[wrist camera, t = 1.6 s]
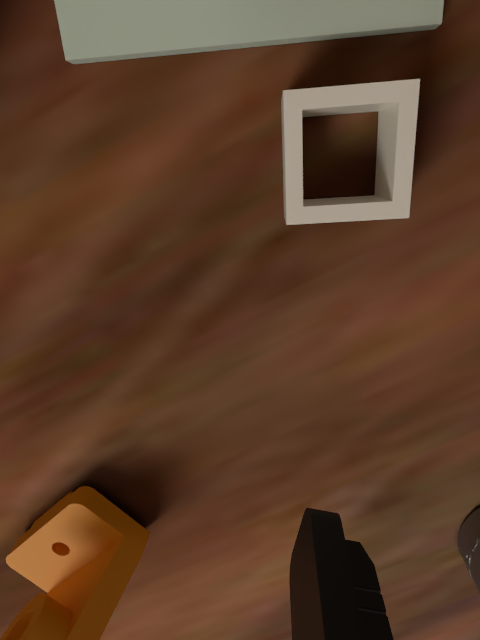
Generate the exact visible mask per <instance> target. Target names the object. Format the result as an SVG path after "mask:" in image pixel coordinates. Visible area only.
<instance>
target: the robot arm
mask: <svg viewBox="0 0 480 640" xmlns="http://www.w3.org/2000/svg"><path fill="white" fill-rule="evenodd" d="M458 548H459V551H460V554H461V556H462V558H463V560H464V562H465V564H466V567H467V569H468V572H469V574H470V576H471V578H472V579H473V581H474V583H475V585H476V587H477V589H478V591H479V593H480V508H478V509H477V510H475V511H474V512H473V513H472V514H471V515H470V516H469V517H468V518H467V519H466V520H465V522H464V523H463V525H462V527H461V528H460V532H459V535H458ZM380 590H381V589H380V586H379V582H378V578H377V574H376V570H375V566H374V564H373V562H372V561H371V559H370V558H369V556H368V554H367V553H366V551H365V550H364V548H363V547H362V545H361V543H360V542H355V541H350V540H345V537H344V532H343V527H342V522H341V518H340V516H339V514H338V513H333V512H328V511H322V510H316V509H311V508H306V510H305V512H304V515H303V518H302V522H301V525H300V528H299V532H298V535H297V539H296V542H295V545H294V549H293V552H292V557H291V564H290V602H291V623H292V640H393V636H392V632H391V628H390V624H389V621H388V617H387V616H386V609H385V605H384V601H383V597H382V595H381V594H380Z"/></svg>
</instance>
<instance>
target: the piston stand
mask: <svg viewBox="0 0 480 640" xmlns="http://www.w3.org/2000/svg"><path fill="white" fill-rule="evenodd" d="M54 1H55V7H56V12H57V17H58V22H59V28H60V33H61V38H62V44H63V49H64V54H65V60H66V61H68V62H70V63H72V64H82V63H93V62H103V61H113V60H124V59H134V58H145V57H155V56H165V55H176V54H186V53H196V52H207V51H217V50H227V49H238V48H248V47H258V46H269V45H279V44H290V43H300V42H310V41H321V40H331V39H341V38H352V37H362V36H372V35H383V34H393V33H403V32H414V31H424V30H435V29H436V28H437V27H438V26H440V25H441V24H442V17H443V6H444V0H54Z"/></svg>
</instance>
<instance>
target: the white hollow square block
mask: <svg viewBox="0 0 480 640" xmlns="http://www.w3.org/2000/svg"><path fill="white" fill-rule="evenodd" d="M419 88H420V79H410V80H399V81H387V82H375V83H364V84H352V85H341V86H329V87H318V88H306V89H294V90H283V94H282V100H281V113H282V150H283V187H284V217H285V221H286V225H294V224H311V223H329V222H346V221H364V220H381V219H399V218H409V213H410V200H411V188H412V175H413V163H414V150H415V138H416V125H417V113H418V100H419ZM375 111H379V113H378V134H377V154H376V174H375V194H374V195H370V196H354V197H338V198H322V199H306V200H303V143H302V117H313V116H326V115H338V114H351V113H363V112H375Z"/></svg>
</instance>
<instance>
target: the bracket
mask: <svg viewBox="0 0 480 640" xmlns="http://www.w3.org/2000/svg"><path fill="white" fill-rule="evenodd" d="M149 534H150V532H149V531H147V530H146V529H145V528H144V527H142V526H141V525H140V524H138V523H137V522H136V521H135V520H133V519H132V518H131V517H130V516H128V515H127V514H126V513H124V512H123V511H122V510H121V509H119V508H118V507H117V506H115V505H114V504H113V503H112V502H110V501H109V500H108V499H106V498H105V497H104V496H103V495H101V494H100V493H99V492H97V491H96V490H95V489H93V488H91V487H88V486H82V487H79V488H78V489H77V490H76V491H74V492H72V491H70V492H69V493H68V494H67V495H66V496H64V497H63V498H62V499H61V500H60V501H59V502H57V503H56V504H55V505H54V506H53V507H51V508H50V509H49V510H48V511H47V512H46V513H44V514H43V515H42V516H41V517H40V518H38V519H37V520H36V521H35V522H34V523H33V525H32V527H31V528H30V529H29V530H28V531H27V532H26V533H24V534H23V535H22V536H21V537H20V538H19V539H18V541H17V542H16V544H15V545H14V547H13V548H12V550H11V551H10V553H9V554H8V556H7V557H6V562H7V564H8V565H9V566H10V567H11V568H12V569H14V570H15V571H17V572H18V573H20V574H21V575H22V576H24V577H25V578H27V579H28V580H30V581H31V582H33V583H34V584H36V585H37V586H39V587H40V588H41V589H43V590H44V591H46V592H47V593H48V594H45V593H40V594H38V595H37V596H35V597H34V598H33V599H32V600H31V601H30V602H29V603H28V604H27V605H26V606H25V607H24V608H23V609H22V610H21V612H20V613H19V614H18V615H17V617H16V618H15V619H14V620H13V622H12V623H11V624H10V626H9V627H8V629H7V630H6V632H5V633H4V635H3V636H2V638H1V639H0V640H99V639H100V637H101V635H102V633H103V631H104V629H105V627H106V625H107V623H108V621H109V619H110V617H111V615H112V613H113V612H114V610H115V608H116V606H117V604H118V602H119V600H120V598H121V596H122V594H123V592H124V590H125V588H126V586H127V584H128V582H129V580H130V578H131V576H132V574H133V572H134V570H135V568H136V566H137V564H138V562H139V560H140V558H141V556H142V554H143V552H144V549H145V546H146V543H147V540H148V537H149Z"/></svg>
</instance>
